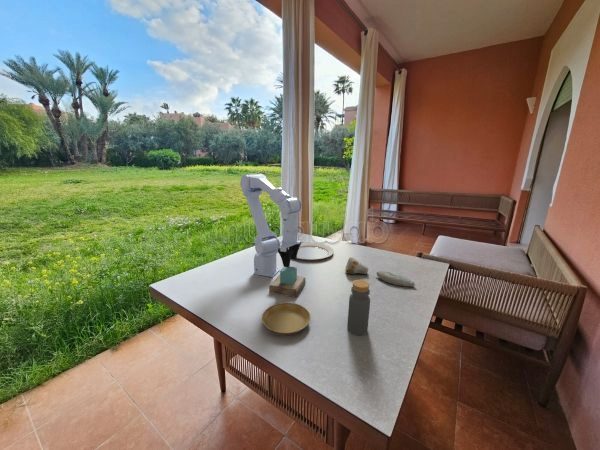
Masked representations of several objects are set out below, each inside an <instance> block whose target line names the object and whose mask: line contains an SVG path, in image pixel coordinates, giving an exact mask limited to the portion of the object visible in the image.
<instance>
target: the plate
mask: <svg viewBox="0 0 600 450" xmlns="http://www.w3.org/2000/svg"><path fill="white" fill-rule="evenodd" d="M315 247H318V248H317V249H320V248H322V249H321V250H323V249H325V250H326V251H327V252H328V253H327V252H326V251H325V250H324V251H325V252H326V253H327V255H326V256H323V257H319V258H302V257H298V256H297V257H296V259H299V260H304V261H319V260H324V259H325V258H329V257H331V256H332V255H334V248H332V246H329V245H327V244H324V243H320V242H301V245H300V247H299V249H300V248H315ZM288 249H289V247H288Z"/></svg>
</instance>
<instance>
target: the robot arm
mask: <svg viewBox="0 0 600 450" xmlns="http://www.w3.org/2000/svg"><path fill="white" fill-rule="evenodd" d="M239 185H240V188H241V191H242V193H243V196H245V199H246V201H247V204H248V208H249V211H250V214H251V216H252V217H251V218H252V219H253V223H254V226H255V229H256V231H257V235H256V236H255V238H253V239H254V240H253V241H254V249H255V252H256V253H255V254H254V257H253V275H258V276H263V277H269V278H274V277H275V276H276V275H277V273H278V272H280V270H281V268H277V266H278V265H277V254H279V256H280V258H281V261H282V262H281V263H282V267H289V266H290V265H291V260H297V258H296V257H298V252H299V249H300V248H299V247H300V245H301V243H302V242H301V240H299V235H298V230H299V228H298V226H299V212H300V211H301V209H302V201H301V199H299V197H297V196H291V195H290V194H289V193H287V192H286V191H284V190H283V188H282V187H275V186H274V185H273V184H272V183H271V182H270V181H269V180H268V179H267V176H266V175H265V174H263V173H254V174H251V173H249V174H246V173H243V174H242V175H241V177H240V182H239ZM263 191H264V192H265V193H266V194H268V195H269V198H270V200H271V201H272V202H273V203H274V204H275V205H277V206H278V208H279V212H280V217H281V219H282V240H281V242H280V240H279V238H278V236H277V234H276V233H275V232H273V231H272V230H270V227H269V225H268V221H267V218H266V216H265V212H264V209H263V206H262V204H261V201H260V197H259V196H260V195H262V193H263ZM288 247H289V249H288ZM290 267H291V266H290Z"/></svg>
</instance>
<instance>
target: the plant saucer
mask: <svg viewBox="0 0 600 450" xmlns="http://www.w3.org/2000/svg"><path fill="white" fill-rule="evenodd" d="M261 321H262V324H263V325H264V326H265V327H266V328H267V329H268V330H270V331H271V332H273V333H275V334H277V335H281V336H289V335H294V334H297V333H299V332H301V331H302V330H304V329H305V328H307V326H308V325H309V323H310V322H311V314H310V311H309V310H308V309H307V308H306V307H305V306H303V305H301V304H298V303H294V302H279V303H275V304H273V305H271V306H269V307H267V308H266V309H265V310H264V311H263V313H262V314H261Z"/></svg>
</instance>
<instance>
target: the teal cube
mask: <svg viewBox="0 0 600 450" xmlns="http://www.w3.org/2000/svg"><path fill="white" fill-rule="evenodd" d="M279 275H280V283H283V284H289V285H293V284H294V282H295V281H296V280H297V276H298V267H295V266H289V267H284V266H282V269H281V268H280V270H279Z"/></svg>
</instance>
